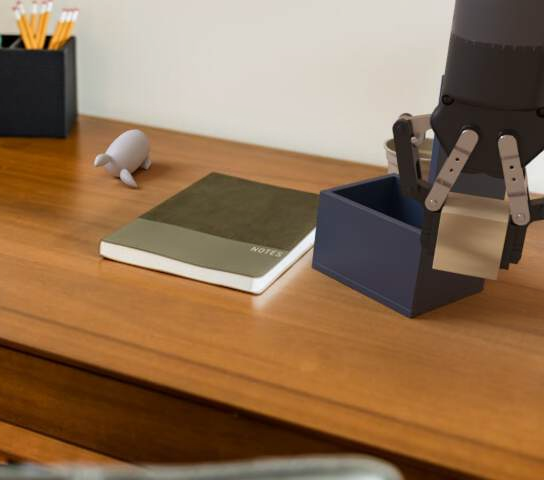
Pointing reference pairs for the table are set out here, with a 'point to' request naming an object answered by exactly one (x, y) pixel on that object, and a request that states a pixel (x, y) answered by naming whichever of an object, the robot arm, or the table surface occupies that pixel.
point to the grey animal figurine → (126, 156)
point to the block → (471, 235)
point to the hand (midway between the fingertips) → (468, 258)
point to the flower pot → (424, 155)
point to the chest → (383, 248)
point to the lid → (465, 175)
